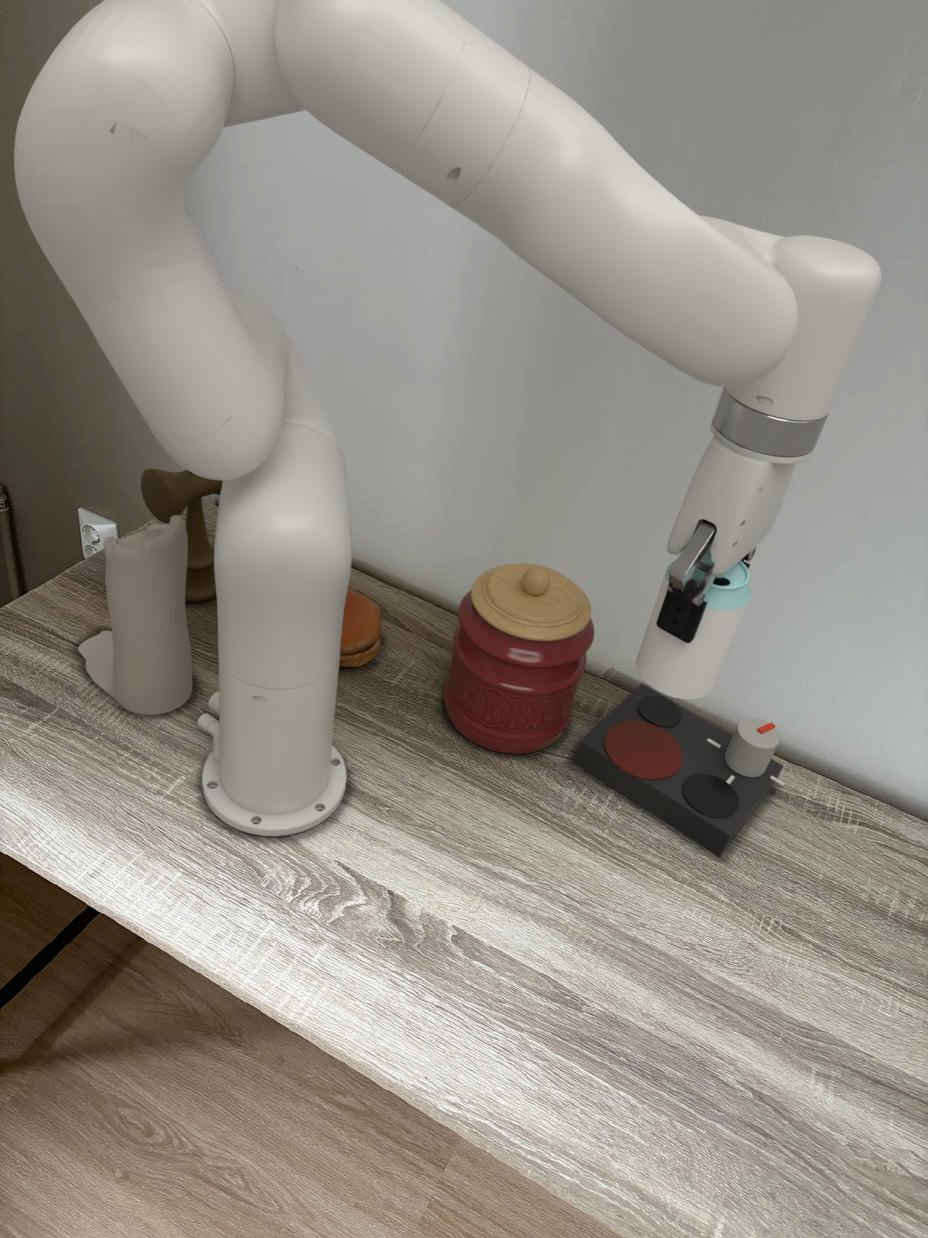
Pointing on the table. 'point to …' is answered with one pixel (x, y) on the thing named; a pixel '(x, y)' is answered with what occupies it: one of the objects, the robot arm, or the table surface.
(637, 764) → the burners
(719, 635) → the can
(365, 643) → the burger
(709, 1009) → the table surface
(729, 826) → the stove
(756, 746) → the stove knob
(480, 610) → the kitchen canister
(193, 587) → the kendama
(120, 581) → the candle
